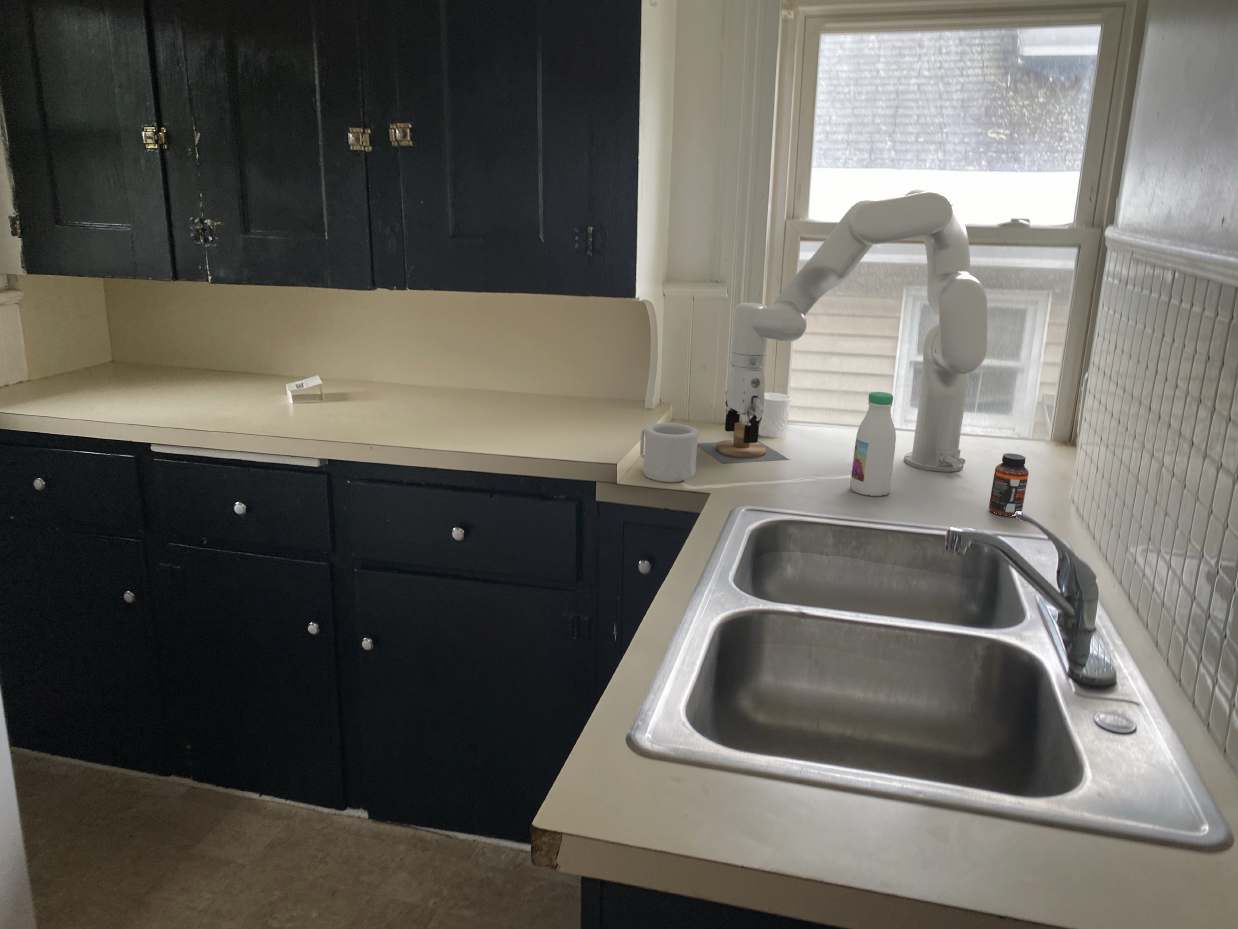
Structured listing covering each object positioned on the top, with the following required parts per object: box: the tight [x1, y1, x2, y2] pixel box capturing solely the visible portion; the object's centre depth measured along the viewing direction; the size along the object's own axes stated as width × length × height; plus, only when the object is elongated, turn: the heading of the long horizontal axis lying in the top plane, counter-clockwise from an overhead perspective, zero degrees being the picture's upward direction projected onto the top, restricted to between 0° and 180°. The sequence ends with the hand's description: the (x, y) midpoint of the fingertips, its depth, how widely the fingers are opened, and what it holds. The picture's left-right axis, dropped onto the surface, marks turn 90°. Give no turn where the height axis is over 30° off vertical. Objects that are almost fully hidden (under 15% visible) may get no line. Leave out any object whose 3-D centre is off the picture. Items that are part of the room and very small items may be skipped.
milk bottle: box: [850, 391, 897, 497], centre depth 190 cm, size 8×8×20 cm
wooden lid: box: [716, 421, 766, 458], centre depth 213 cm, size 11×11×6 cm
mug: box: [639, 422, 699, 484], centre depth 197 cm, size 14×11×10 cm
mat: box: [697, 440, 791, 465], centre depth 214 cm, size 16×16×1 cm
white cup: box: [758, 392, 792, 439], centre depth 229 cm, size 8×8×10 cm
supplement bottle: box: [988, 452, 1029, 518], centre depth 181 cm, size 6×6×11 cm
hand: (740, 436), depth 213 cm, fingers open, 9 cm apart
